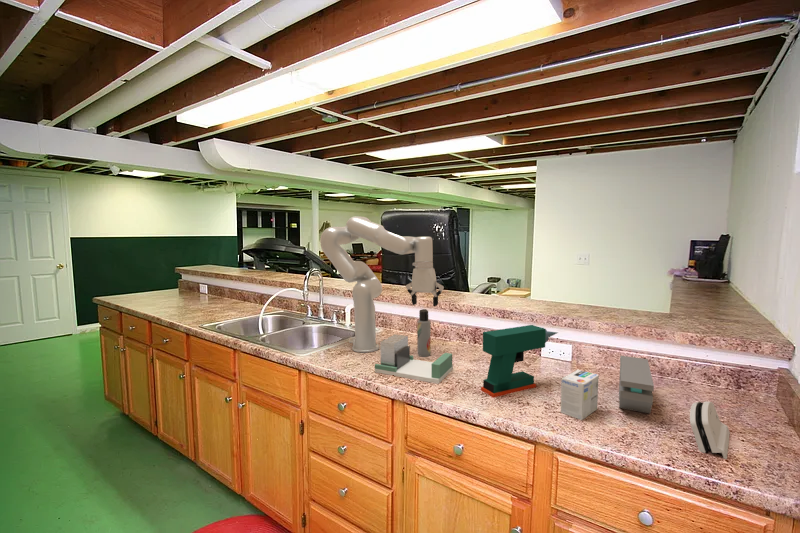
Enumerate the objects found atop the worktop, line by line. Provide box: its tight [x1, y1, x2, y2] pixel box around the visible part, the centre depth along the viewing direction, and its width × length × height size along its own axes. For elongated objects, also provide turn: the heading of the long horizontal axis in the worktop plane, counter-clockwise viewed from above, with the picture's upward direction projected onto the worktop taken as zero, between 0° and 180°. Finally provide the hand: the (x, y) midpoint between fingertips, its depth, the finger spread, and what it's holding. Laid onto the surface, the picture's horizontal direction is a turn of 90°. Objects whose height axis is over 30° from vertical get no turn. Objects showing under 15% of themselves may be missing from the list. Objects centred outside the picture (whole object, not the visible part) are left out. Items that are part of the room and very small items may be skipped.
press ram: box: [379, 333, 411, 370], centre depth 150 cm, size 7×12×10 cm, turn 153°
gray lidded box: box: [618, 355, 655, 414], centre depth 118 cm, size 25×8×11 cm, turn 150°
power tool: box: [480, 324, 559, 398], centre depth 132 cm, size 32×7×20 cm, turn 115°
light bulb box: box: [560, 369, 600, 421], centre depth 113 cm, size 11×7×11 cm, turn 131°
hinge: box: [689, 400, 731, 460], centre depth 97 cm, size 17×5×10 cm, turn 137°
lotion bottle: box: [416, 308, 432, 358], centre depth 165 cm, size 6×6×20 cm
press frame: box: [374, 352, 454, 385], centre depth 147 cm, size 26×16×6 cm, turn 63°
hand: (424, 305), depth 164 cm, fingers open, 9 cm apart
